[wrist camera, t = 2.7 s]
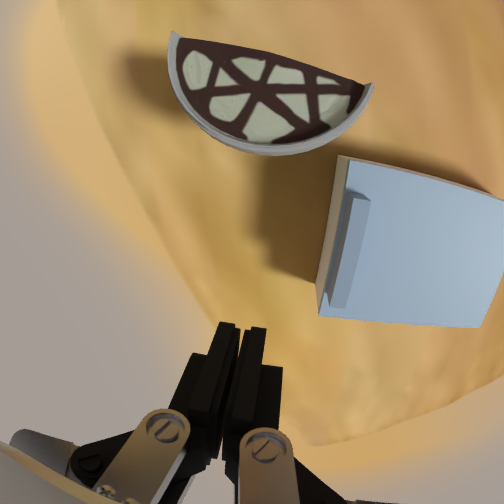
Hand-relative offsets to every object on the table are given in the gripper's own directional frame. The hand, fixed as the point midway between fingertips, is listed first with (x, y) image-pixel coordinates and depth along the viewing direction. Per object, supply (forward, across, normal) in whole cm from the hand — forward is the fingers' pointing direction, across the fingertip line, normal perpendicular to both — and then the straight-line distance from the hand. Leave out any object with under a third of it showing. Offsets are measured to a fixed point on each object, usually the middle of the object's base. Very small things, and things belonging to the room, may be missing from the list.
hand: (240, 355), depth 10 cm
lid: (+13, -14, -1) cm, 19 cm away
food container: (+18, +1, -10) cm, 20 cm away
